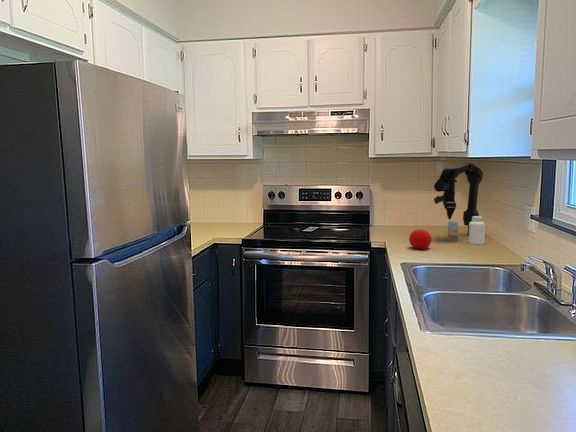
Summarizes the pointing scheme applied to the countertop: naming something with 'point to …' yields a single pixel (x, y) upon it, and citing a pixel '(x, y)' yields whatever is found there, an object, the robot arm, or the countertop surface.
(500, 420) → the countertop surface
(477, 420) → the countertop surface
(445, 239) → the mat
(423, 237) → the tomato
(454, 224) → the pale grey cube
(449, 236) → the tower base
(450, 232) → the tower top
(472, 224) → the pill bottle
